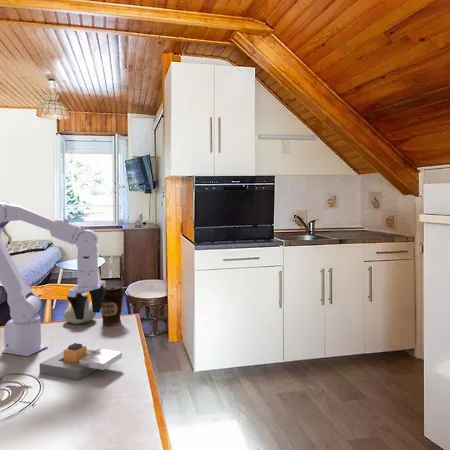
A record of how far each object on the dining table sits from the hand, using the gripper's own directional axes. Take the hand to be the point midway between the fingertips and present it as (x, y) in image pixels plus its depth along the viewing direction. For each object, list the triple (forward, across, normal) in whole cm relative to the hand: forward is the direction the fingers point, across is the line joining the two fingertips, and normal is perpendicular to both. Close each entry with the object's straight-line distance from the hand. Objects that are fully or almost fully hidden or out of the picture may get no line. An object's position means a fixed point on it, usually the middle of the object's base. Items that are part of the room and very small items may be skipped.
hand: (88, 315), depth 119 cm
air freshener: (+10, +19, +19) cm, 28 cm away
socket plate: (+9, -14, -7) cm, 18 cm away
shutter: (+7, -14, -15) cm, 21 cm away
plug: (+9, -14, -7) cm, 18 cm away
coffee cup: (+10, +21, +7) cm, 24 cm away
